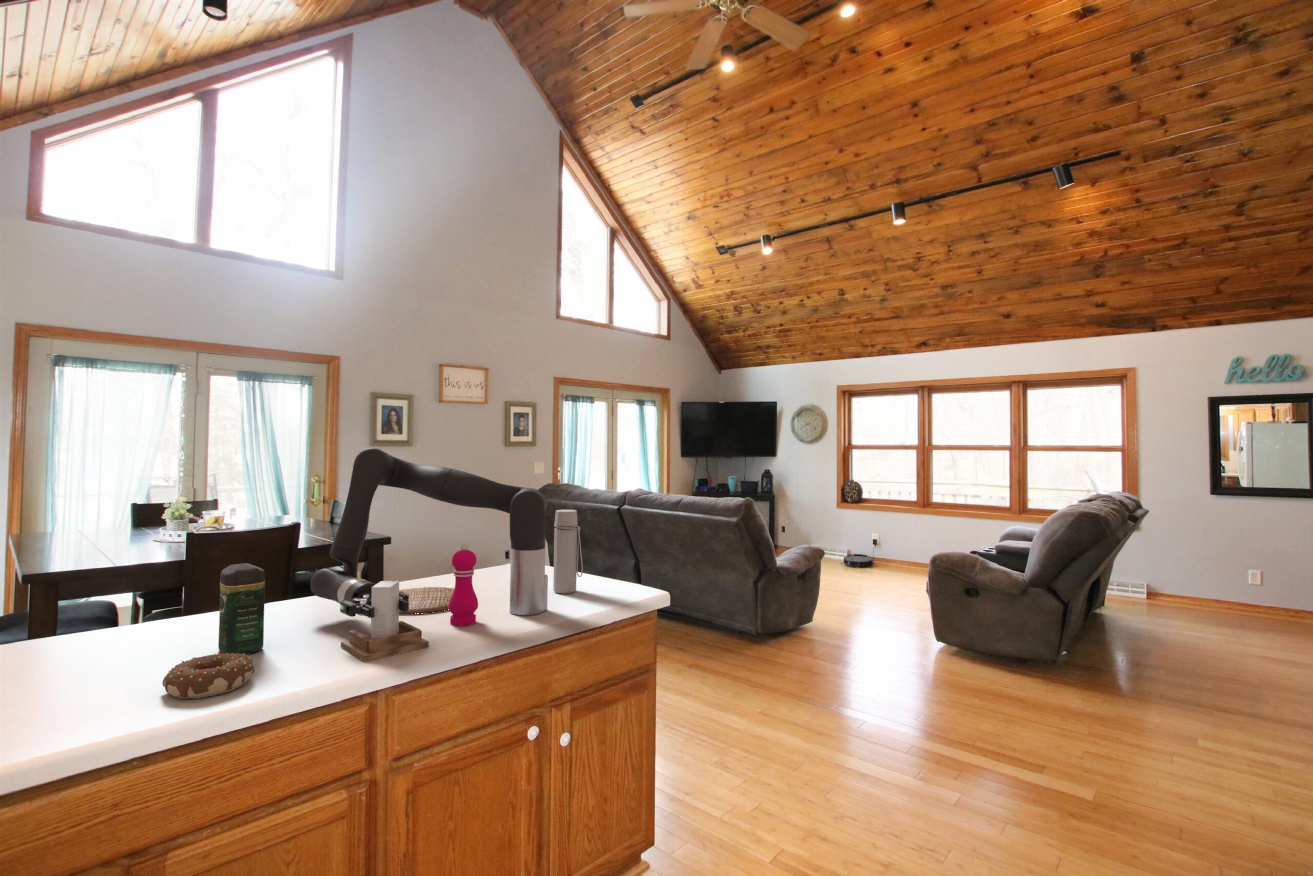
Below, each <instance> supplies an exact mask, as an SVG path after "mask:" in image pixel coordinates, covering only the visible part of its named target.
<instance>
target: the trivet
mask: <svg viewBox="0 0 1313 876" xmlns="http://www.w3.org/2000/svg"><path fill="white" fill-rule="evenodd" d="M454 588H455V587H454ZM454 588H453V587H444V586H441V587H440V586H439V587H437V586H434V587H433V586H432V587H431V586H430V587H427V586H423V587H412V588H411V587H410V588H405V589H399V591H401V592H403V593H405V594H407V595H409V609H408V611H405V612H403V611H401V610H399V615H401V614H414V615H422V614H421V613H429V614H433V613H432V612H436V613H439V612H438V611H443V612H445V611H444V610H447V611H449V610H448V609H449V608H448V606H449V601H450V598H451V596H452V594H453V591H454ZM415 613H416V614H415ZM417 613H419V614H417Z"/></svg>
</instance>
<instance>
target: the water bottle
mask: <svg viewBox="0 0 1313 876" xmlns="http://www.w3.org/2000/svg"><path fill="white" fill-rule="evenodd" d="M577 512H578V510H577V509H558V510H557V509H556V510H555V513H554V515H555V516H554V524H553V527H554V530H553V538H554V539H553V584H552V585H553V586H552V587H553V588H552V590H553V592H555V593H556V594H559V593H561V594H560V595H565V594H566V593H569V594H572V592H573V593H574V592H576V591H577V577H578V578H581V577H582V576H583V571H584V570H583V569H584V566H583V555H582V553H583V552H582V546H581V545H582V544H581V543H582V542H581V536H580V534H581V533H580V532H581V526H578V525H579V523H578V513H577ZM579 549H580V550H579ZM579 551H580V553H579ZM579 554H580V564H581V565H580V566H581V570H580V575H579V573H578V572H579ZM566 595H567V594H566Z"/></svg>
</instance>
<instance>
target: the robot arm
mask: <svg viewBox="0 0 1313 876" xmlns="http://www.w3.org/2000/svg"><path fill="white" fill-rule="evenodd" d="M352 465H353V466H352V471H351V478H350V483H349V488H348V493H347V497H346V500H345V506H344V509H343V512H342V515H341V519H340V522H339V524H338V528H337V530H336V533H335V536H334V537H333V541H332V544H331V547H330V549H329V556H330V558H331V559H333V560H336V561H338V562H340V563H342V565H343V570H339V569H333V568H321V569H318V570H317V571H315V573H314V574H313V575H312V576H311V580H310V590H311V592H312V594H314V595H315V596H317V598H318V597H319V598H321V599H322V598H323V599H325V600H330V601H333V602H336V603H338V604H339V605H340V606H339V607H340V608H339V613H342V614H344V615H346V616H348V617H351V618H353V617H357V616H356V615H359V616H360V617H363V616H364V617H366V618H369V619H371V618H374V607H371V598H372V587H373V586H374V585H376V584H377V583H373V582H371V581H368V580H366V579H363V578H358V567H359V561H360V560H359V559H360V555H361V551H362V549H363V545H364V542H365V540H366V536H367V533H368V529H369V521H370V512H371V507H372V503H373V499H374V495H375V494H376V491H377V489H378V487H379V486H383V487H391V488H398V489H403V490H407V491H411V492H414V493H417V494H419V495H422V496H423V497H424V496H425V497H427V498H430V499H433V500H437V501H440V502H443V503H447V504H451V505H455V506H462V507H468V508H479V509H482V508H483V509H491V510H497V511H501V512H504V513H507V514H509V539H510V569H509V570H510V579H509V613H510V614H512V615H516V614H517V615H516V616H533V614H534V615H538V614H542V613H543V612H545V611H548V593H549V592H548V589H549V588H548V581H549V579H548V578H549V577H548V574H546V569H545V568H546V534H545V533H546V532H545V524H546V522H545V521H546V514H545V513H546V511H547V508H548V501H547V498H546V496H545V494H543V492H541V490H539V489H536V488H533V487H523V486H517V485H510V484H504V483H501V482H497V481H494V480H491V479H489V478H486V477H483V476H480V475H476V474H473V473H471V472H467V471H464V470H459V469H456V468H450V467H445V466H438V465H424V464H417V463H413V462H410V461H407V460H404V459H401V458H398V457H395V456H393V455H392V454H389V453H388V452H385V451H384V450H382V449H380V448H376V447H369V448H368V447H367V448H364V449H363V450H361V451H360V452H359V453H358V454H357V455H356V457H355V459H354V461H353V464H352ZM408 609H409V595H407V594H405V593H403V592H401V591H399V610H401V611H403V612H405V611H408Z"/></svg>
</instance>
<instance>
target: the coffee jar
mask: <svg viewBox="0 0 1313 876" xmlns="http://www.w3.org/2000/svg"><path fill="white" fill-rule="evenodd" d="M219 575H220V579H219V622H218V643H217V645H218V650H219V652H220V654H222V653H224V654H227V653H228V654H231V653H233V654H237V653H239V654H245V655H246V654H247V655H250V653H251V654H252V653H254V652H257V651H261V650H263V647H264V636H265V634H264V633H265V631H264V629H265V628H264V627H265V592H266V588H265V587H266V572H265V570H264V568H261V567H259V566H257V565H254V564H252V563H249V562H248V563H247V562H246V563H237V564H236V563H234V564H229V565H227V567H225V568H223V569H222V570H221V572H220V574H219Z"/></svg>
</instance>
